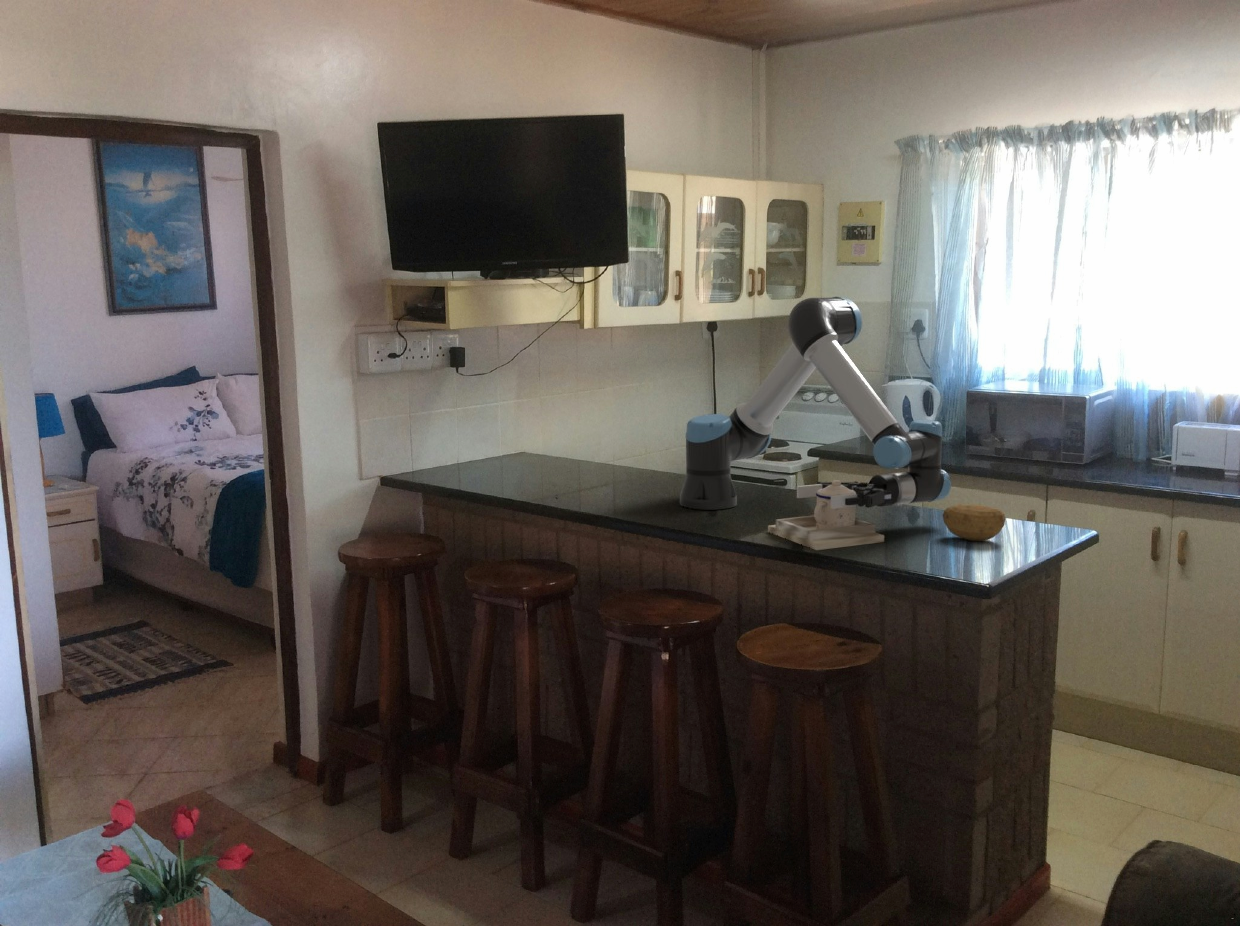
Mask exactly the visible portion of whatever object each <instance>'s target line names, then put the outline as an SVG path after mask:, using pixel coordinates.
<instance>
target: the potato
mask: <svg viewBox="0 0 1240 926" xmlns="http://www.w3.org/2000/svg"><path fill="white" fill-rule="evenodd" d="M942 513H943V514H942V518H943V523H944V525H945V527H946V528H947V529H948V531H949V532H950V533H951V534H953V535H954V536H956V537H959V538H960V539H963V540H966V541H972V542H977V541H980V542H981V541H989V540H990V539H993V538H994V537H996V536H997V535H998V534H999V533H1000V532H1002V530H1003V528H1004V527H1005V524H1006V516H1005V513H1004V512H1003V511H1002V510H1000V509H999V508H996V507H990V506H984V505H981V504H963V503H962V504H953V505H951V506H948V507H947V508H946V509H944V510H943V512H942Z"/></svg>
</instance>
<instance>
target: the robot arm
mask: <svg viewBox="0 0 1240 926" xmlns="http://www.w3.org/2000/svg"><path fill="white" fill-rule="evenodd" d="M862 318H863V317H862V314H861V311H860V309H859V307H858V306H857V304H856V303H855V302H853V300H851V299H848V298H847V297H846V298H845V297H841V296H832V297H809V298H808V297H807V298H805V299H802V300H800V301H798V302H797V304H795V305H794V306H793V308H792V310H791V311H790V313H789V316H788V319H787V329H788V334H789V336H790V339H791V341H792V343H791V344H790V346H789V348H788V350H786V352H785V353H784V354H783V355H782V357H781V358H780V360H779V361H778V362H777V363H776V365H775V366H774V367H773V369H772V370H771V371H770V372H769V374H768V375H767V376H766V378H764V380H763V382H762V383H761V384H760V385H759V386H758V388H757V390H756V391H755V392H754V393H753V395H752V396H751V397H750V399H749V400H748V401H747V402H742V403H739V404H737V405H736V408H734V410H733V411H732V412H731V414H730V415H729V416H728V415H727V414H722V413H710V414H707V415H706V414H705V415H704V414H702V415H698V416H695V417H692V418H691V419H689V420H688V422H687V423H686V430H685V431H686V432H685V444H686V445H685V457H686V458H685V459H686V461H685V462H686V465H685V466H686V467H685V468H686V475H685V479H684V482H683V485H682V489H681V491H680V494H679V506H681V507H683V506H684V507H683V508H686V507H689V508H688V509H692V508H693V510H694V509H695V510H706V511H707V510H708V511H709V510H710V511H711V510H725V509H731V508H734V507H736V506H737V505H738V497H737V492H736V490H735V486H734V482H733V480H732V476H731V464H732V463H731V462H734V461H735V462H736V461H741V460H745V459H746V460H749V459H752V458H755V457H757V456H760V455H761V454H763V452H765V451H766V450H767V449H768V447H769V445H770V443H771V441H772V438H771V435H772V433H773V431H774V424H773V423H774V421H775V420H776V418H777V417H778V416H779V415H780V414H781V413H782V411H783V410H784V409H785V407H786V406H787V405H788V404H789V402H790V401H791V400H792V399H793V397H795V395H796V394H797V393H798V391H799V390H800V389H801V387H802V386H804V384H805V382H807V380H808V379H809V377H810V376H811V375H812V374H813V373H814V371H815V370H817V371H818V372H819V373H820V375H821V376H822V377H823V379H824V380H825V381H826V383H827V384H828V385H829V387H830V388H831V389H832V391H833V392H834V394H835V395H836V397H838V399H839V401H840V402H841V403H842V404H843V406H844V407H845V408H846V410H847V411H848V412H849V414H850V415H851V416H852V418H853V419H854V420H855V422H856V423H857V424H858V426H859V427H860V429H861V430H862V431H863V432H864V434H865V435H866V437H868V439H869V440H870V442H871V443H872V445H873V450H872V452H873V453H872V454H873V457H874V460H875V462H876V464H877V465H878V466H880V467H882V468H884V469H887V470H893V469H902V468H904V467H907V466H908V467H907V469H908V471H902V472H892V473H884V474H883V473H881V474H875V475H873V476H872V477H871V479H870V480H869V481H868V482H865V481H861V482H859V481H857V480H855V481H841V485H843V486H845V487H847V488H848V489H850V490H853V491H855V492H856V494H847V495H837V496H831V508H832V509H835V508H844V507H853V506H855V507H857V506H858V507H860V508H861V507H864V506H865V508H867V509H868V508H873V507H875V506H876V507H880V508H881V507H883V508H884V507H890V506H898V507H900V508H901V507H902V506H903V505H904V504H905V505H907V504H915V503H932V502H936V501H941V500H944V499H946V498H947V497H948V496H949V494H950V492H951V490H952V481H951V480H950V475H949V474H948V472H947V471H946V470H944V469H942V452H943V451H942V446H943V437H944V436H943V426H942V424H941V423H942V422H940V421H937V420H932V419H931V420H928V419H919V420H918V419H916V420H912V421H911V422H910V424H909V428H908V431H907V432H906V431H905V430H904V428H903V427H902V426H901V424H900V423H899V422H898V421H897V419H896V418H895V417H894V415H893V414H892V413H891V411H890V410H889V409H888V407H887V406H886V404H885V403H884V402H883V401H882V399H881V398H880V397H879V395H878V394H877V393H876V391H875V389H873V387H872V386H871V385H870V383H869V382H868V381H867V379H866V378H865V376H864V375H863V374H862V373H861V371H860V370H859V369H858V367H857V366H856V365H855V363H854V362H853V360H851V358H850V356H849V355H848V354H847V353H846V351H845V350H844V349H843V347H842V346H843V345H848V344H850V343H851V342H854V341H855V340H856V339H857V338H858V337H859V335H860V333H861V332H862V328H863V321H862ZM829 485H832V481H829V482H828V481H817V483H816V484H809V485H807V484H806V485H798V486H796V498H797V499H803V498H805V499H806V498H815V497H816V498H817V496H816V493H817V491H818V490H820V489H823V488H825V487H827V486H829Z"/></svg>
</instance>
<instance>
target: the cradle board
mask: <svg viewBox="0 0 1240 926" xmlns="http://www.w3.org/2000/svg"><path fill="white" fill-rule="evenodd" d="M876 526H877V525H876V523H872V522H869V521H866V520H863V519H859V518H856V517H855V525H854V526H845V527H836V528H827V529H819V530H817V529H816V520H815V517H814V515H805V516H798V517H797V516H795V517H787V518H786V517H785V518H778V519H775V524H772V525H767V533H769V532H770V534H772V533H773V535H775V536H777V535H778V537H779V538H780V537H781V538H783V539H785V538H786V540H788V541H791V542H794V543H795V544H799V545H801V544H802V546H804V547H807V548H809V547H810V548H809V549H812V550H815V551H821V550H828V549H829V550H831V549H837V548H838V549H839V548H845V547H846V548H847V547H853V546H861V545H862V546H863V545H869V544H870V545H871V544H877V543H884V542H885V535H884V534H881V533H878V532H876Z"/></svg>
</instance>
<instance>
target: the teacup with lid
mask: <svg viewBox="0 0 1240 926" xmlns="http://www.w3.org/2000/svg"><path fill="white" fill-rule="evenodd" d="M831 482H832V485H829V486H827V487H825V488H823V489H820V490H818V491H817V493H816V505H815V508H814V511H813V514H814V517H815V520H816V529H817V530H819V529H827V528H836V527H845V526H854V525H855V518H856V506H853V507H844V508H835V509H832V508H831V496H837V495H847V494H856V492H855V491H853V490H850V489H848V488H847V487H845V486H843V485H841V482H842V481H841V480H839V479H837V480H835V479H834V480H832V481H831Z"/></svg>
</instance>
